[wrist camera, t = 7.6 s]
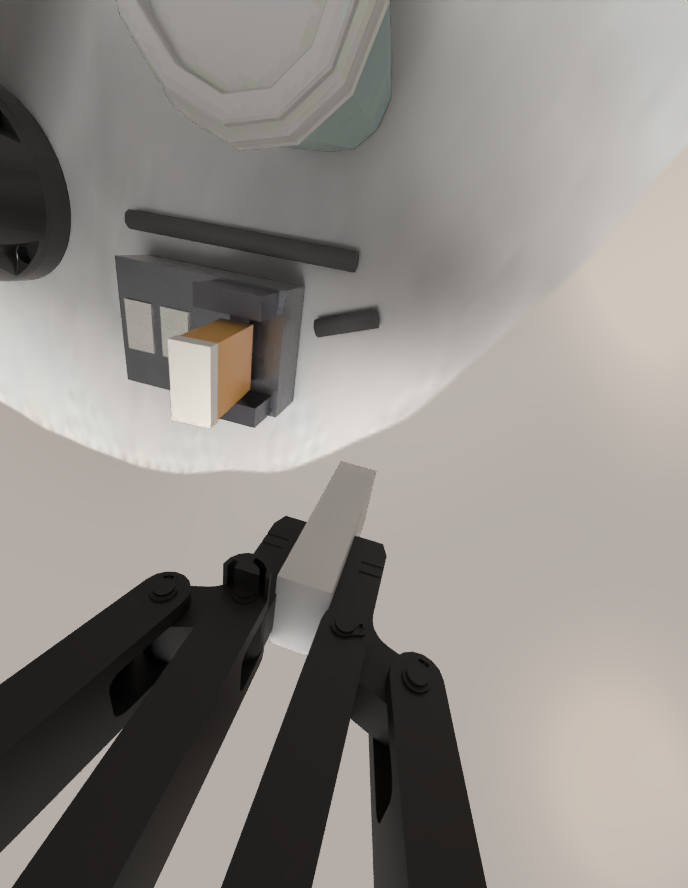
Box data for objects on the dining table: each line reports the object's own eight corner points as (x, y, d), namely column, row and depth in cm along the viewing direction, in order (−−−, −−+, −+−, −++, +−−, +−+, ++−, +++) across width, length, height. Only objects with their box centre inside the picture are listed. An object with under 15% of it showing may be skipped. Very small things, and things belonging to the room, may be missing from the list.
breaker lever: (226, 382, 32) (172, 424, 24) (227, 311, 29) (167, 334, 22) (255, 388, 32) (210, 432, 24) (259, 317, 29) (210, 342, 22)
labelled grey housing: (157, 367, 38) (101, 389, 32) (150, 255, 33) (82, 255, 27) (292, 401, 36) (260, 431, 30) (304, 286, 31) (269, 294, 25)
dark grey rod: (137, 229, 33) (125, 228, 31) (136, 210, 32) (123, 208, 31) (356, 272, 30) (352, 273, 29) (359, 252, 29) (355, 252, 28)
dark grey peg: (321, 335, 33) (316, 338, 32) (317, 318, 32) (312, 320, 31) (379, 326, 31) (376, 329, 30) (377, 308, 31) (374, 310, 30)
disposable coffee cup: (458, 80, 24) (466, -128, 11) (341, 227, 29) (250, 207, 16) (335, -74, 22) (171, -535, 9) (235, 110, 27) (36, -21, 14)
